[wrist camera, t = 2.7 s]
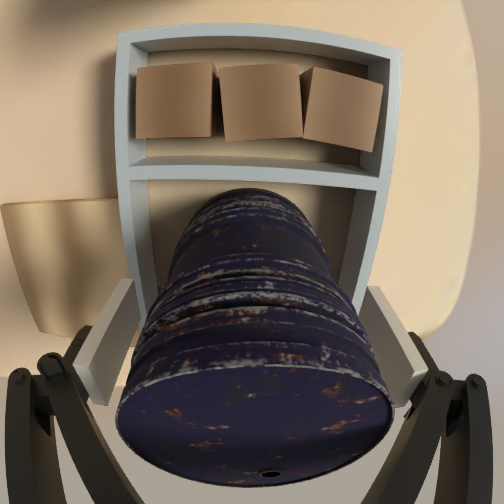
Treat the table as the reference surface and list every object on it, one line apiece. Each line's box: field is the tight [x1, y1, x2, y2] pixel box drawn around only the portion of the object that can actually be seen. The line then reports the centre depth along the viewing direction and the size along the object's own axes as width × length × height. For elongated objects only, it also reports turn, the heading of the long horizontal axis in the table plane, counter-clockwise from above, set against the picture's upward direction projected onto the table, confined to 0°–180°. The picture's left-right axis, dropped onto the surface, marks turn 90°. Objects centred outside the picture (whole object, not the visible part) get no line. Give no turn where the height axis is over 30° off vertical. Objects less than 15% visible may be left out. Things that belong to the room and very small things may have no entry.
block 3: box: [299, 66, 383, 152], centre depth 16 cm, size 4×4×4 cm
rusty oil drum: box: [115, 188, 395, 488], centre depth 15 cm, size 10×10×15 cm
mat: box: [0, 198, 141, 347], centre depth 22 cm, size 14×14×1 cm
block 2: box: [219, 64, 303, 142], centre depth 15 cm, size 4×4×4 cm
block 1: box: [136, 63, 219, 139], centre depth 15 cm, size 4×4×4 cm
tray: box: [114, 23, 403, 332], centre depth 18 cm, size 16×22×3 cm
